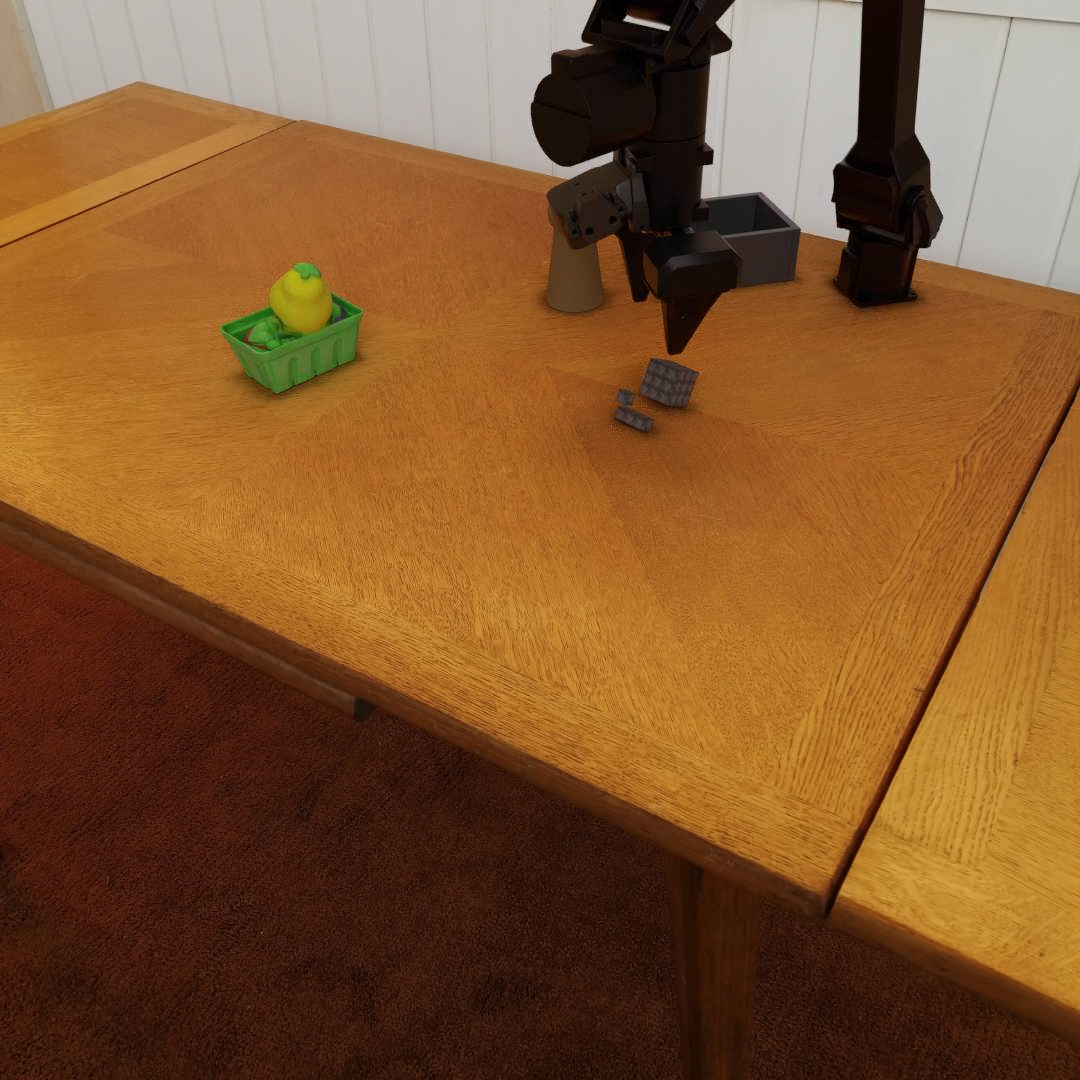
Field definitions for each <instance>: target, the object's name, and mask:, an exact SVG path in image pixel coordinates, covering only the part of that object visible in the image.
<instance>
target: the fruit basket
mask: <svg viewBox="0 0 1080 1080" xmlns="http://www.w3.org/2000/svg"><path fill="white" fill-rule="evenodd" d="M322 276H323V275H322V272H321V270H320V269H319V268H318V266H317V265H316V264H313V263H309V262H307V261H301V262H297V263H296V264H293V266H292V268H291V269H290V270H288V271H287V272H286V273H285V274H284V275H282V276H281V277H279V278H278V280H277V281H276V282H275V283H274V284H273V285H271V288H270V290H269V293H268V305H269V306H266V307H264V308H261V309H259V310H256V311H254V312H252V313H249V314H247V315H243V316H241V317H239V318H237V319H234V320H231V321H229V322H226V323H223V324H221V326H220V327H219V332H220V334H221V335H222V336H223V338H224V340H225V341H227V342H228V344H229V346H230V348H231V349H232V352H233V353H234V355H235V356H236V358H237V360H238V362H239V363H240V365H241V367H242V369H243V370H244V372H245V374H246V375H247V376H248V377H249V378H253V379H254V381H255V382H257V383H259V384H260V385H261V386H263V387H264V388H266V389H268V390H269V389H270V390H271V392H272V393H274V394H275V395H276V394H280V393H282V392H285V391H286V390H289V389H291V388H292V387H294V386H296V385H300V384H302V383H305V382H307V381H309V380H311V379H313V378H315V376H318V375H323V374H324V373H327V372H329V371H331V370H333V369H335V368H337V366H342V365H345V364H347V363H349V362H351V361H353V360H355V358H356V351H357V346H358V345H357V344H358V339H359V338H358V337H359V332H360V323H361V322H362V319H363V313H364V310H363V309H362V308H361V307H359V306H356V305H355V304H353V303H352V302H350V301H348V300H346V299H344V298H343V297H341V296H339V295H337V294H335V293H334V292H332V291H331V290H330V288H329V285H327V283H326V282H325V281H324V280H323V278H322Z"/></svg>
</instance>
